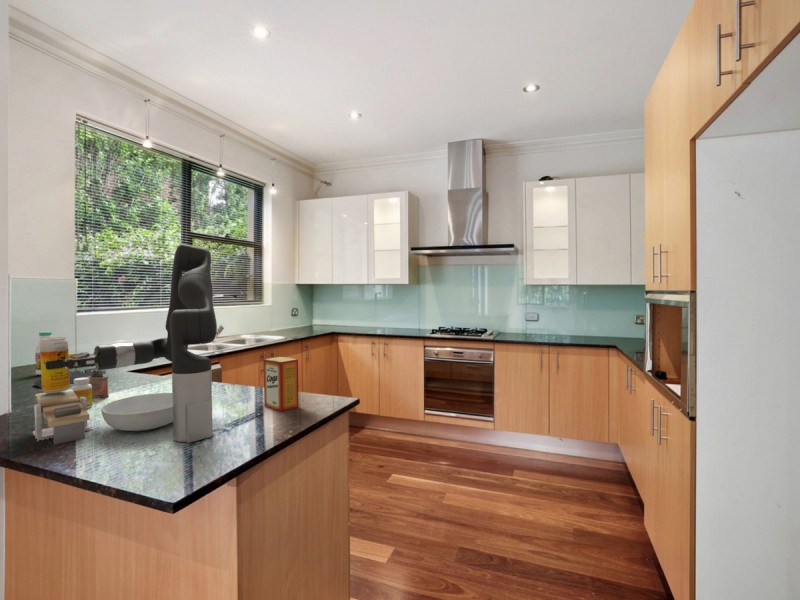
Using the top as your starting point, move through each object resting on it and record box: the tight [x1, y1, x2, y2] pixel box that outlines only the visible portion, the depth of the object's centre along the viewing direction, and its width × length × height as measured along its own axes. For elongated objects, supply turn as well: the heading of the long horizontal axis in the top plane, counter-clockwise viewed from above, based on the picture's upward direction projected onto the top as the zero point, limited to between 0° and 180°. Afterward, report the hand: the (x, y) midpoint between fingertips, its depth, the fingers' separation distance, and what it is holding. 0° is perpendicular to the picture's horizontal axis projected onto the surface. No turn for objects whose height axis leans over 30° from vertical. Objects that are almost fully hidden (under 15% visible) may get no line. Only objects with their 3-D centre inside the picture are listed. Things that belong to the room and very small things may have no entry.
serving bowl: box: [100, 392, 173, 432], centre depth 115 cm, size 21×21×7 cm
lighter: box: [87, 370, 110, 399], centre depth 147 cm, size 8×3×10 cm, turn 76°
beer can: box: [40, 336, 71, 393], centre depth 115 cm, size 6×6×15 cm
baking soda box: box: [263, 356, 300, 413], centre depth 133 cm, size 10×6×16 cm
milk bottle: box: [34, 331, 53, 375], centre depth 190 cm, size 8×8×20 cm
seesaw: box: [34, 388, 90, 428], centre depth 110 cm, size 22×8×3 cm, turn 49°
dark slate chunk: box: [33, 367, 97, 388], centre depth 173 cm, size 15×22×5 cm
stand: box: [32, 397, 91, 445], centre depth 108 cm, size 14×11×8 cm
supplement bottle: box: [70, 378, 93, 409], centre depth 134 cm, size 5×5×10 cm
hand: (44, 364), depth 114 cm, fingers closed on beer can, 6 cm apart
